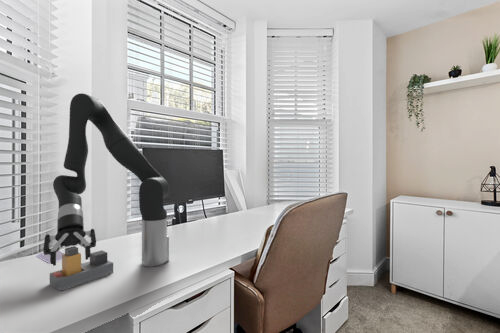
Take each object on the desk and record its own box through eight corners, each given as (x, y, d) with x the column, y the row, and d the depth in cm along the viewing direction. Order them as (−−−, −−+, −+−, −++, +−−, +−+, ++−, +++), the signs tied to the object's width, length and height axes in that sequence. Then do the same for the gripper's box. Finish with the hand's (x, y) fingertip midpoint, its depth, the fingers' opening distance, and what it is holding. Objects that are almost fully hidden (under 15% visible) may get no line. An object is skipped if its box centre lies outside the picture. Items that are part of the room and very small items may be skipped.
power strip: (101, 267, 94) (101, 248, 94) (113, 272, 89) (113, 252, 89) (49, 284, 81) (49, 262, 81) (59, 291, 76) (59, 268, 76)
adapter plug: (76, 274, 85) (76, 245, 85) (81, 278, 83) (81, 247, 83) (62, 279, 82) (62, 248, 82) (66, 282, 79) (66, 251, 79)
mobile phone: (49, 262, 97) (35, 254, 106) (49, 264, 97) (35, 256, 106) (71, 256, 103) (57, 249, 112) (71, 258, 103) (57, 251, 112)
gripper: (44, 215, 84) (41, 260, 75) (94, 211, 92) (97, 251, 83) (45, 228, 88) (43, 272, 79) (93, 222, 97) (96, 262, 87)
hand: (71, 261), depth 81 cm, fingers open, 8 cm apart
